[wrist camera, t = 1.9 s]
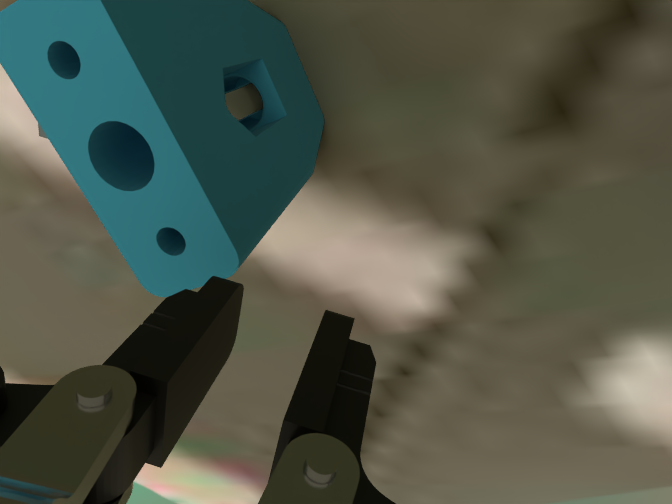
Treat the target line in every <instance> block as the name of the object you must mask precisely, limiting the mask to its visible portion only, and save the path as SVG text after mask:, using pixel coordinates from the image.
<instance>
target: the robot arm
mask: <svg viewBox="0 0 672 504" xmlns="http://www.w3.org/2000/svg"><path fill="white" fill-rule="evenodd" d="M243 290H244V288H243V284H240V283H236V282H233V281H230V280H227V279H223V278H220V277H217V276H212V277H211V278H210V279H209V280H208V281H207V282H206V283H205V284H204V286H203V287H202V288H201V289H200V290H199V291H198V292H194V291H191V290H188V289H184V290H182V291H180V292H178V293H176V294H173V295H171V296H169V297H167V298H166V299H165V300H164V301H163V302H162V303H161V304H160V305H159V306H158V307H157V308H156V309H155V310H154V313H153V314H152V313H151V314H150V315H149V316H148V317H147V319H146V320H145V321H144V322H143V324H142V325H140V326H139V327H138V328H137V329H136V330H135V331H134V332H133V333H132V334H131V335H130V336H129V337H128V338H127V339H126V340H125V341H124V342H123V344H122V345H121V346H120V347H119V348H118V349H117V350H116V351H115V352H114V353H113V354H112V355H111V356H110V357H109V358H108V359H107V360H106V361H105V362H104V363H103V364H102V365H93V366H88V367H84V368H80V369H77V370H75V371H72V372H71V373H69V374H67V375H65V376H64V377H63V378H61V379H60V380H59V381H58V382H57V383H56V384H55V385H32V384H10V383H5V377H4V372H3V370H2V368H1V367H0V504H126V503H127V501H128V499H129V498H130V495H131V493H132V489H133V481H134V479H135V478H136V476H137V475H138V473H139V472H140V470H141V468H142V467H143V465H144V464H145V463H148V464H151V465H154V466H157V467H160V468H161V467H162V466H163V464H164V462H165V461H166V459H167V457H168V456H169V454H170V452H171V451H172V449H173V448H174V446H175V444H176V443H177V441H178V439H179V438H180V436H181V434H182V433H183V431H184V430H185V428H186V426H187V425H188V423H189V421H190V420H191V418H192V417H193V415H194V413H195V412H196V410H197V408H198V407H199V405H200V403H201V402H202V400H203V399H204V397H205V395H206V394H207V392H208V390H209V389H210V387H211V385H212V384H213V382H214V381H215V379H216V377H217V376H218V374H219V372H220V371H221V369H222V367H223V366H224V364H225V363H226V361H227V359H228V357H229V355H230V353H231V351H232V348H233V346H234V343H235V339H236V335H237V329H238V323H239V316H240V310H241V304H242V297H243ZM354 319H355V318H351V317H348V316H345V315H342V314H338V313H335V312H332V311H328V310H325V313H324V315H323V318H322V320H321V323H320V326H319V328H318V331H317V334H316V336H315V339H314V341H313V344H312V347H311V349H310V352H309V354H308V357H307V360H306V362H305V365H304V367H303V370H302V373H301V375H300V378H299V381H298V383H297V386H296V388H295V391H294V394H293V396H292V399H291V401H290V404H289V407H288V409H287V412H286V414H285V417H284V420H283V424H282V428H281V432H280V436H279V440H278V444H277V448H276V452H275V456H274V460H273V465H272V469H271V473H270V477H269V481H268V484H267V486H266V488H265V490H264V492H263V494H262V496H261V498H260V501H259V503H258V504H395V503H394V502H392V501H391V500H390V499H388V498H387V497H385V496H384V495H383V494H381V493H380V492H379V491H378V490H377V489H376V488H375V487H374V486H373V485H372V483H371V482H370V481H369V479H368V478H367V476H366V474H365V472H364V470H363V468H362V464H361V458H360V451H361V444H362V438H363V433H364V427H365V422H366V416H367V411H368V405H369V400H370V393H371V388H372V383H373V382H372V381H373V377H374V372H375V366H376V361H375V358H374V355H373V352H372V349H371V347H370V345H367V344H364V343H360V342H357V341H354V340H350V339H349V337H350V333H351V330H352V326H353V322H354Z"/></svg>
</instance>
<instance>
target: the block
mask: <svg viewBox="0 0 672 504" xmlns="http://www.w3.org/2000/svg"><path fill="white" fill-rule="evenodd" d="M0 63H1V65H2V66H3V68H4V70H5V71H6V73H7V74H8V76H9V77H10V79H11V81H12V82H13V84H14V85H15V87H16V88H17V90H18V92H19V93H20V95H21V96H22V98H23V99H24V101H25V103H26V104H27V106H28V107H29V109H30V110H31V112H32V114H33V115H34V117H35V118H36V120H37V121H38V123H39V125H40V126H41V128H42V129H43V131H44V132H45V134H46V136H47V137H48V139H49V140H50V142H51V143H52V145H53V147H54V148H55V150H56V151H57V153H58V154H59V156H60V158H61V159H62V161H63V162H64V164H65V165H66V167H67V169H68V170H69V172H70V173H71V175H72V176H73V178H74V180H75V181H76V183H77V184H78V186H79V187H80V189H81V191H82V192H83V194H84V195H85V197H86V198H87V200H88V202H89V203H90V205H91V206H92V208H93V209H94V211H95V213H96V214H97V216H98V217H99V219H100V220H101V222H102V224H103V225H104V227H105V228H106V230H107V231H108V233H109V235H110V236H111V238H112V239H113V241H114V242H115V244H116V246H117V247H118V249H119V250H120V252H121V253H122V255H123V257H124V258H125V260H126V261H127V263H128V264H129V266H130V268H131V269H132V271H133V272H134V274H135V275H136V277H137V279H138V280H139V282H140V283H141V285H142V286H143V287H144V288H145V289H146V290H147V291H148V292H150V293H152V294H154V295H156V296H159V297H168V296H171V295H173V294H176V293H178V292H180V291H182V290H184V289H188V290H191V289H194V288H197V287H200V286H204V284H205V283H206V282H207V281H208V280H209V279H210V278H211V277H212V276H217V277H220V278H223V279H225V278H228V277H230V276H232V275H233V274H234V273H235V272H236V271H237V270H238V268H239V267H240V266H241V264H242V263H243V262H244V261H245V259H246V258H247V257H248V256H249V254H250V253H251V252H252V250H253V249H254V248H255V247H256V245H257V244H258V243H259V242H260V240H261V239H262V238H263V236H264V235H265V234H266V233H267V231H268V230H269V229H270V228H271V226H272V225H273V224H274V222H275V221H276V220H277V219H278V217H279V216H280V215H281V214H282V212H283V211H284V210H285V208H286V207H287V206H288V205H289V203H290V202H291V201H292V200H293V198H294V197H295V196H296V194H297V193H298V192H299V191H300V189H301V188H302V187H303V186H304V184H305V183H306V182H307V180H308V179H309V178H310V177H311V175H312V174H313V172H314V167H315V163H316V158H317V154H318V149H319V145H320V140H321V136H322V131H323V127H324V116H323V114H322V111H321V109H320V107H319V104H318V102H317V100H316V97H315V95H314V92H313V90H312V88H311V85H310V83H309V81H308V78H307V76H306V74H305V71H304V69H303V66H302V64H301V62H300V59H299V57H298V55H297V52H296V50H295V47H294V45H293V43H292V40H291V38H290V36H289V33H288V31H287V29H286V27H285V25H284V24H283V23H282V22H281V21H279V20H277V19H276V18H274V17H273V16H271V15H270V14H268V13H266V12H265V11H263V10H262V9H260V8H259V7H257V6H256V5H254V4H252V3H251V2H249V1H248V0H17V1H16V2H14V3H13V4H11V5H10V6H8V7H7V8H5V9H4V10H2V11H1V12H0ZM250 83H252V84H253V85H254V86H255V87H256V88H257V89H258V91H259V93H260V95H261V97H262V101H263V109H261V110H259V111H256V112H254V113H252V114H250V115H248V116H246V117H245V118H243V119H241V120H239V121H238V120H237V119H236V118H234V117H233V116H232V115H231V113H230V112H229V111H228V109H227V106H226V103H225V94H226V93H228V92H231V91H234V90H236V89H239V88H241V87H244V86H246V85H248V84H250Z"/></svg>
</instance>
